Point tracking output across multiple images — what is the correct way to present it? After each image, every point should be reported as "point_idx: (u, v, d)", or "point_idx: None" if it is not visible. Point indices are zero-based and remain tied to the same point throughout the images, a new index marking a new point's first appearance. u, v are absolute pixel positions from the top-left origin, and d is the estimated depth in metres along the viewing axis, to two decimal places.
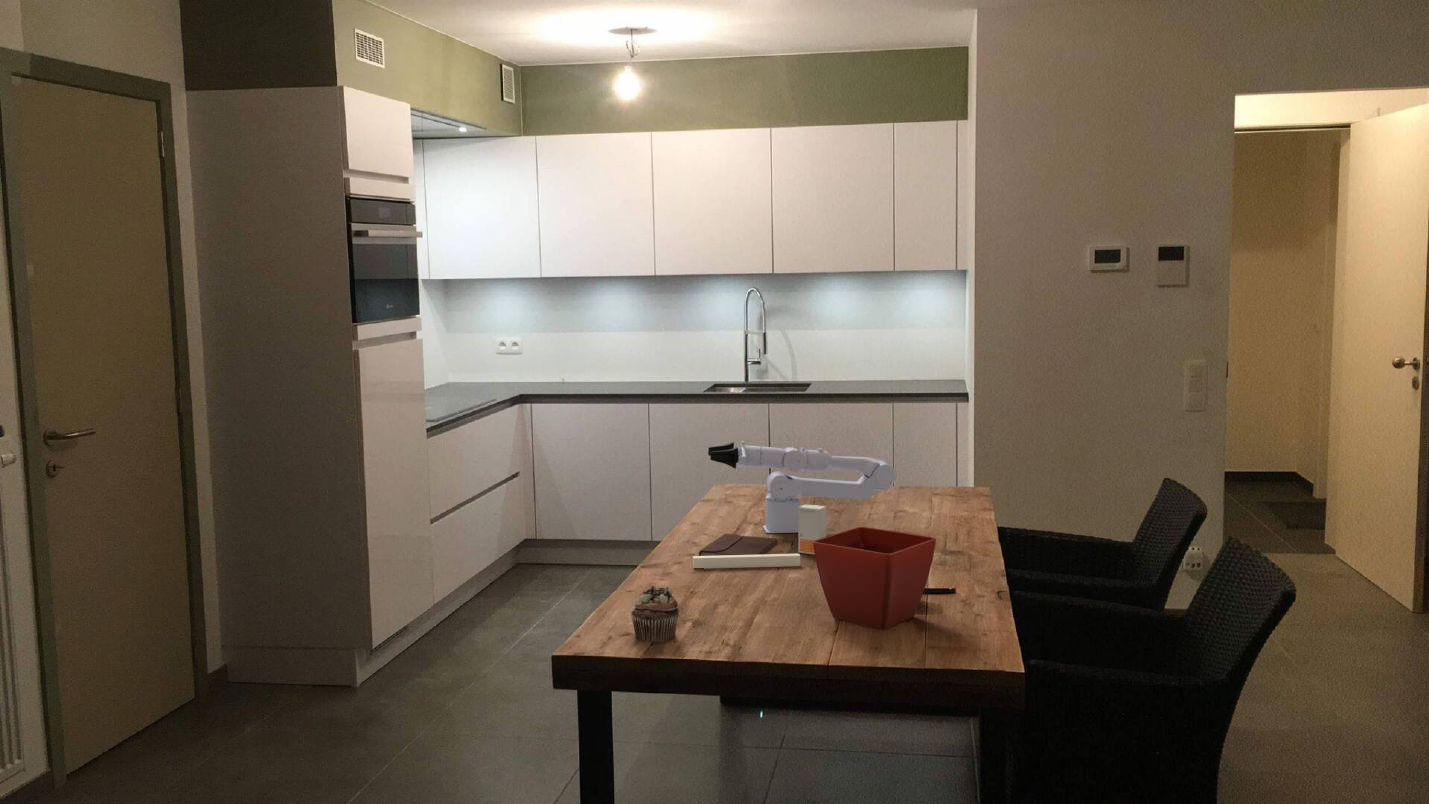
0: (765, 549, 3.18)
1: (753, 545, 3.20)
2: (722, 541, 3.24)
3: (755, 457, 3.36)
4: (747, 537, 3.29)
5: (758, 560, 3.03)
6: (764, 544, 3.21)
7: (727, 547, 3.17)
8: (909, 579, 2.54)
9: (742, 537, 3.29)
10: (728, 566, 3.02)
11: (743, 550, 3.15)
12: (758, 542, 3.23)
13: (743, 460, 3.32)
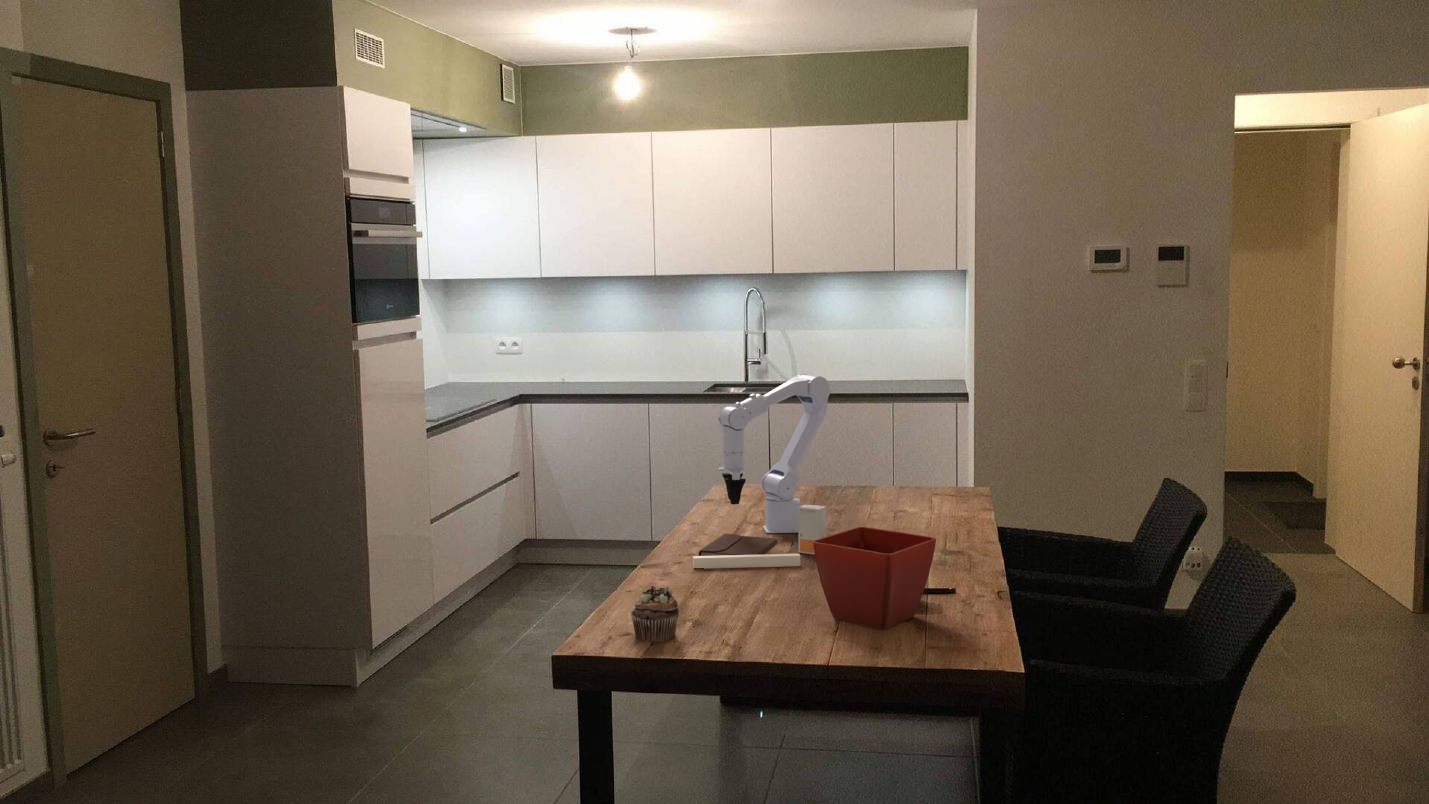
0: (765, 549, 3.18)
1: (753, 545, 3.20)
2: (722, 541, 3.24)
3: (733, 458, 3.30)
4: (747, 537, 3.29)
5: (758, 560, 3.03)
6: (764, 544, 3.21)
7: (727, 547, 3.17)
8: (909, 579, 2.54)
9: (742, 537, 3.29)
10: (728, 566, 3.02)
11: (743, 550, 3.15)
12: (758, 542, 3.24)
13: (736, 475, 3.26)
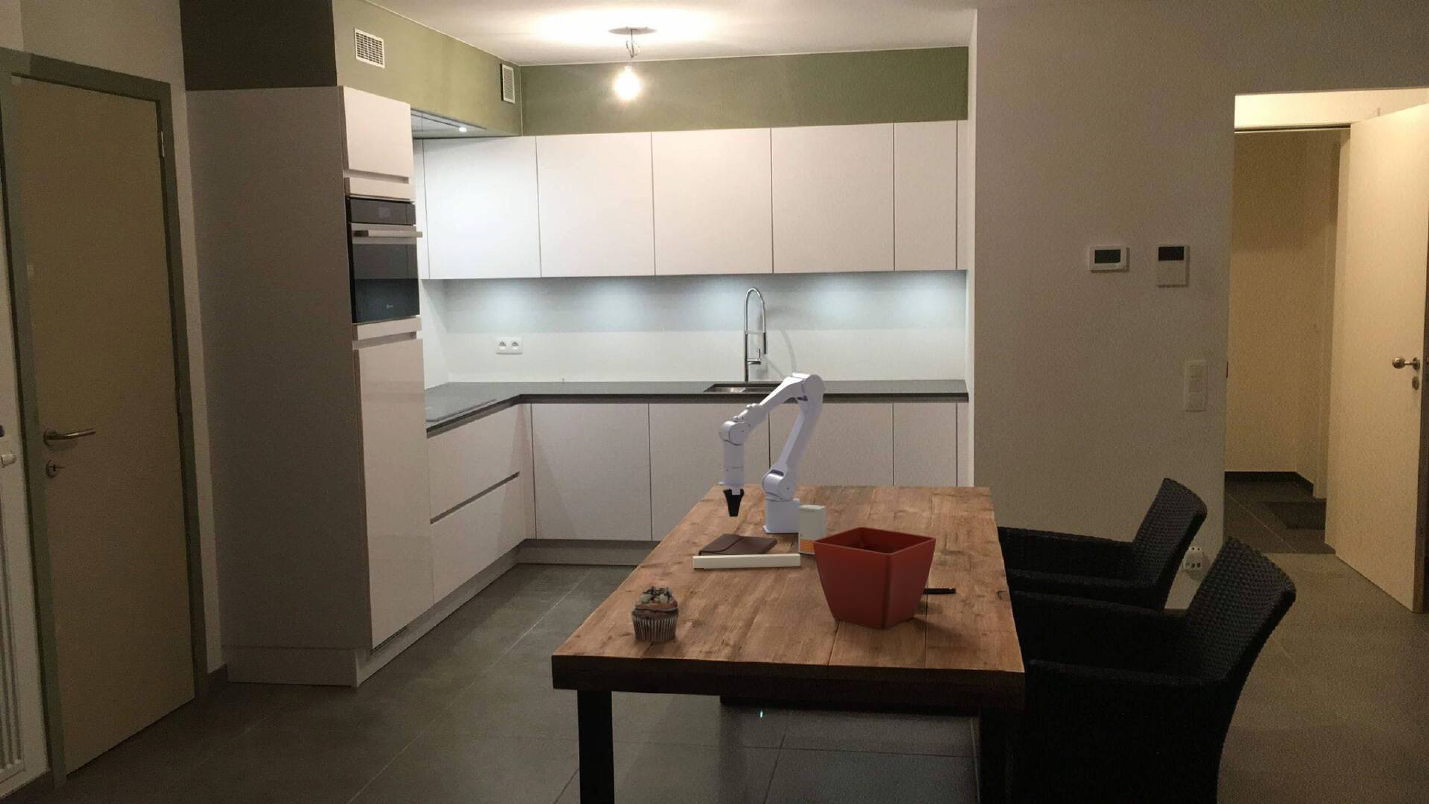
0: (765, 549, 3.18)
1: (753, 545, 3.20)
2: (721, 541, 3.24)
3: (733, 473, 3.31)
4: (746, 537, 3.29)
5: (758, 560, 3.03)
6: (764, 544, 3.21)
7: (727, 547, 3.17)
8: (909, 579, 2.54)
9: (741, 537, 3.29)
10: (728, 566, 3.02)
11: (743, 550, 3.15)
12: (757, 542, 3.24)
13: (736, 490, 3.27)
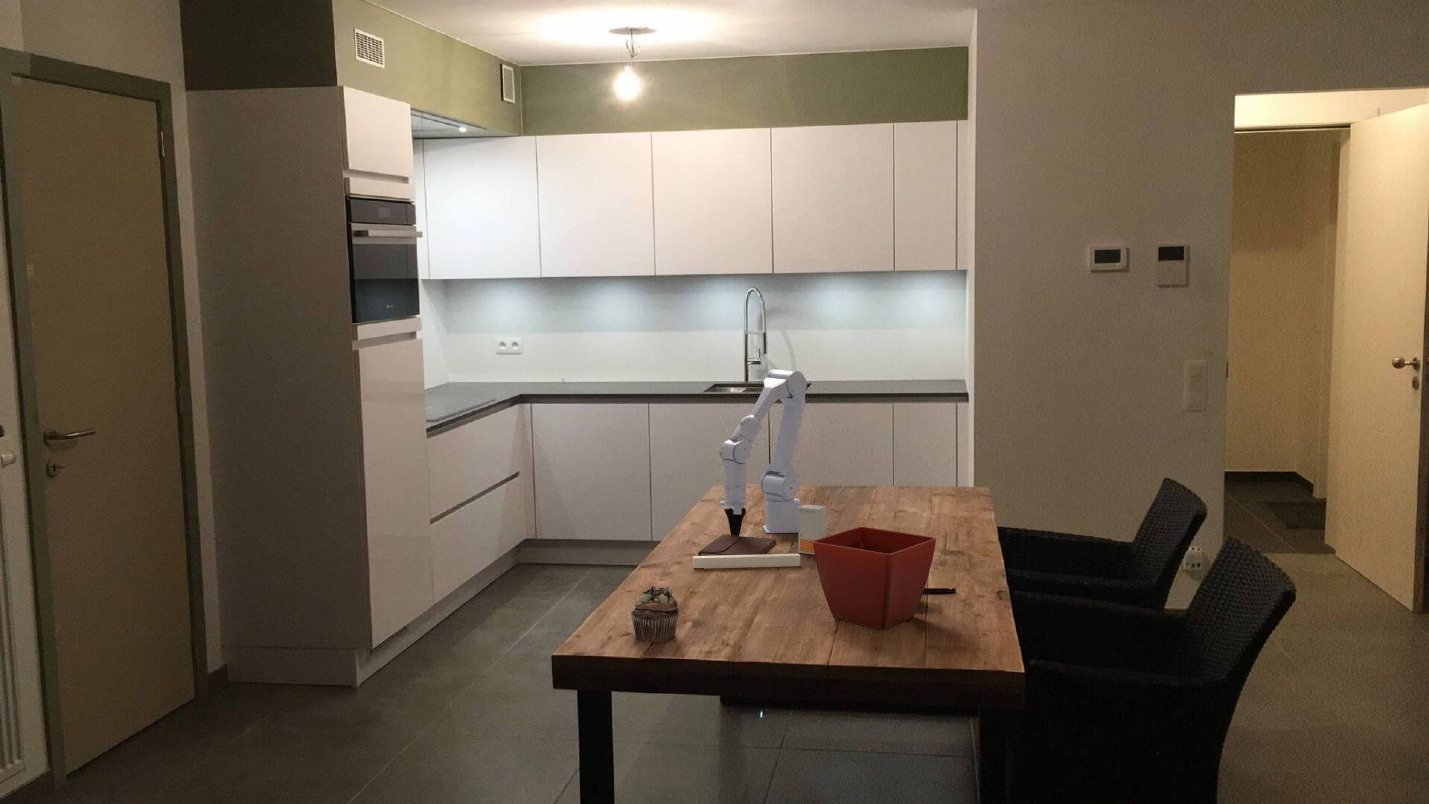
0: (764, 549, 3.17)
1: (752, 546, 3.19)
2: (721, 542, 3.22)
3: (735, 492, 3.27)
4: (745, 537, 3.28)
5: (758, 560, 3.03)
6: (763, 544, 3.20)
7: (726, 548, 3.15)
8: (909, 579, 2.54)
9: (740, 538, 3.28)
10: (728, 566, 3.02)
11: (743, 551, 3.14)
12: (757, 542, 3.23)
13: (738, 509, 3.24)
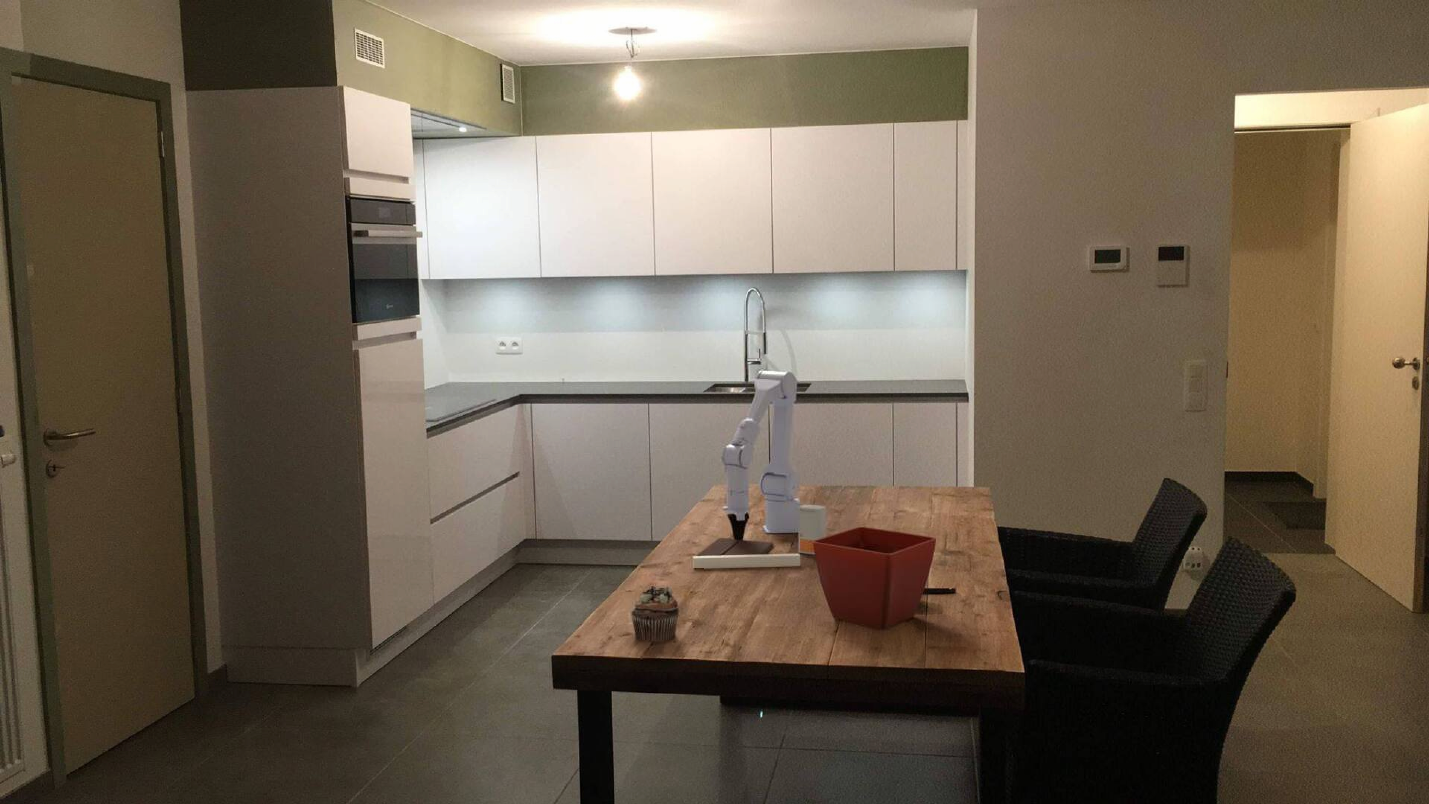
0: (762, 553, 3.13)
1: (750, 549, 3.15)
2: (718, 545, 3.18)
3: (738, 497, 3.22)
4: (742, 541, 3.24)
5: (758, 560, 3.03)
6: (761, 548, 3.16)
7: (724, 552, 3.11)
8: (909, 579, 2.54)
9: (737, 541, 3.24)
10: (728, 566, 3.02)
11: None
12: (754, 546, 3.18)
13: (741, 515, 3.18)
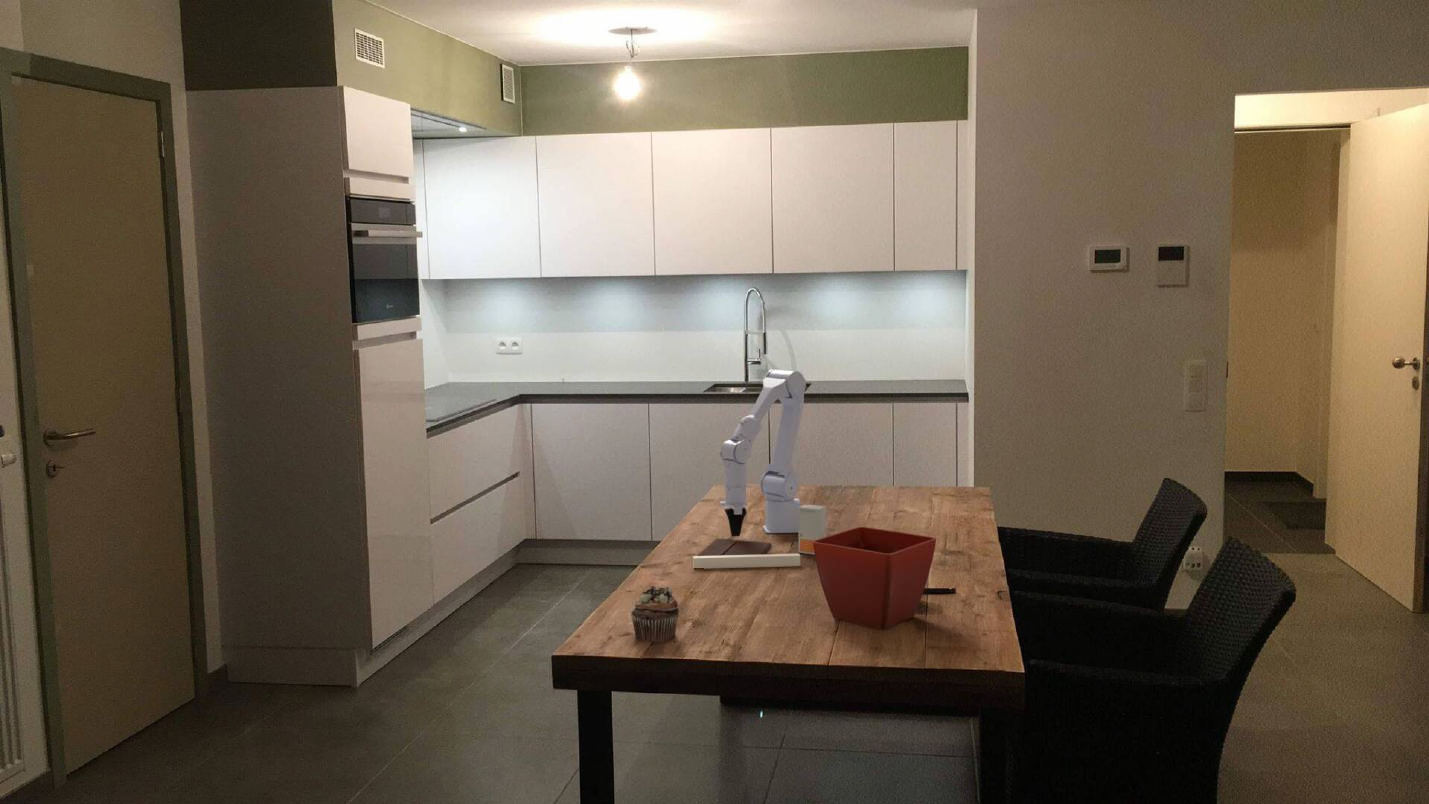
0: (761, 554, 3.13)
1: (748, 550, 3.15)
2: (716, 546, 3.18)
3: (735, 492, 3.27)
4: (740, 542, 3.24)
5: (758, 560, 3.03)
6: (759, 549, 3.16)
7: (723, 552, 3.11)
8: (909, 579, 2.54)
9: (735, 542, 3.24)
10: (728, 566, 3.02)
11: None
12: (753, 547, 3.19)
13: (738, 509, 3.23)
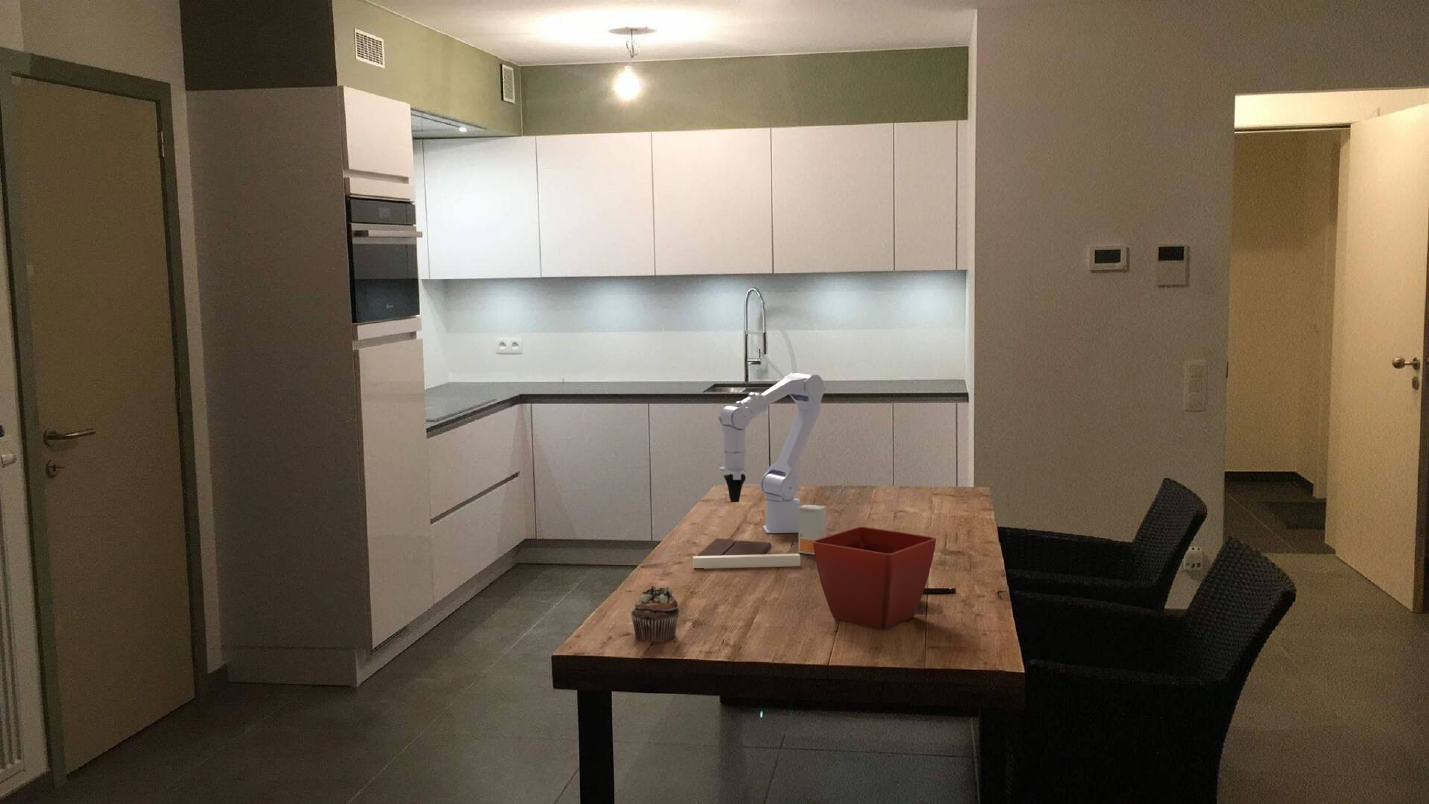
0: (761, 554, 3.13)
1: (748, 550, 3.15)
2: (716, 546, 3.18)
3: (734, 457, 3.28)
4: (740, 542, 3.24)
5: (758, 560, 3.03)
6: (759, 548, 3.16)
7: (723, 552, 3.11)
8: (909, 579, 2.54)
9: (735, 542, 3.24)
10: (728, 566, 3.02)
11: None
12: (752, 546, 3.19)
13: (737, 474, 3.24)
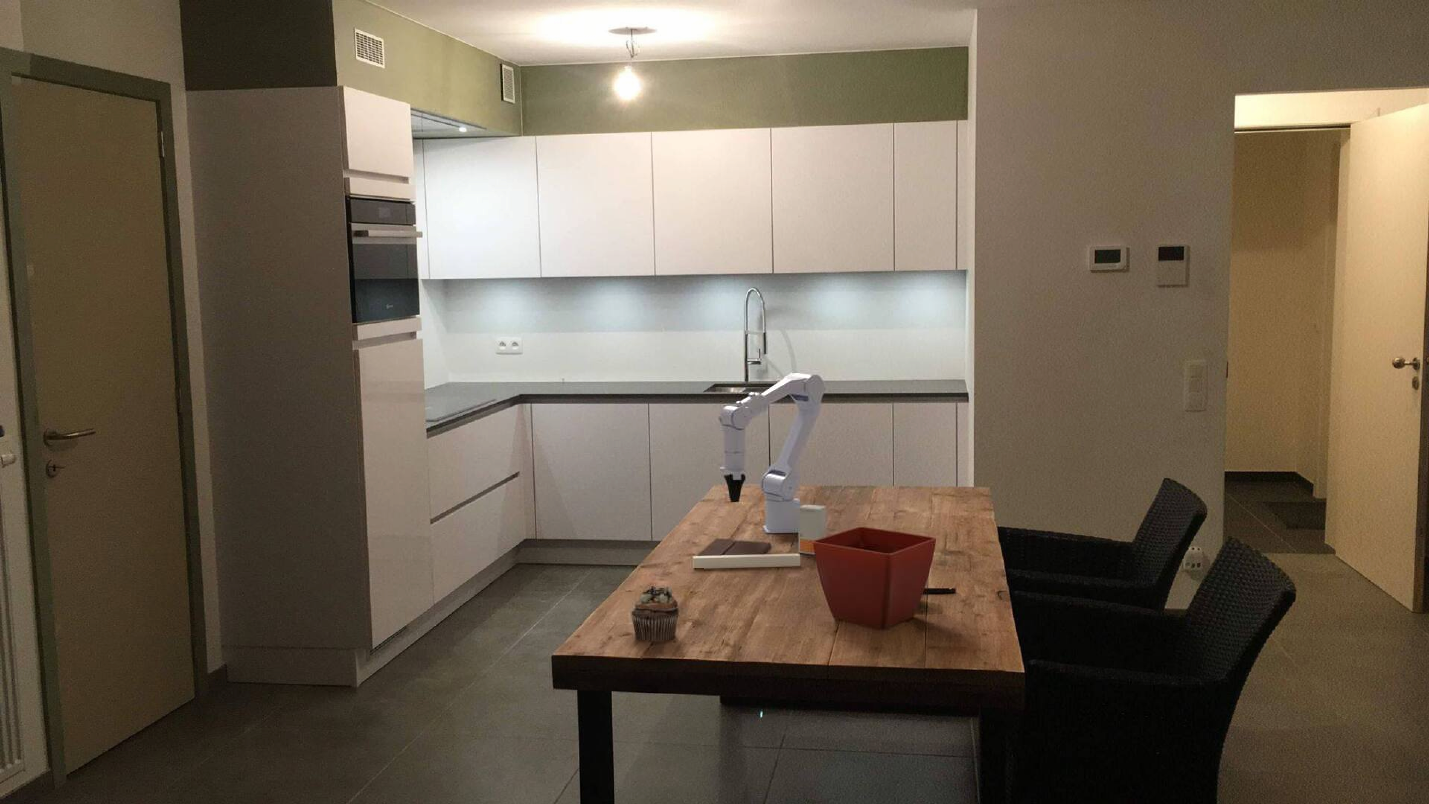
0: (761, 554, 3.13)
1: (748, 550, 3.15)
2: (716, 546, 3.18)
3: (734, 457, 3.28)
4: (740, 542, 3.24)
5: (758, 560, 3.03)
6: (759, 549, 3.16)
7: (723, 552, 3.11)
8: (909, 579, 2.54)
9: (735, 542, 3.24)
10: (728, 566, 3.02)
11: None
12: (752, 547, 3.19)
13: (737, 474, 3.24)
